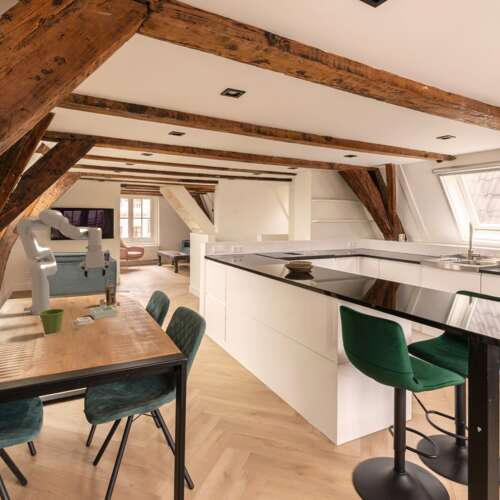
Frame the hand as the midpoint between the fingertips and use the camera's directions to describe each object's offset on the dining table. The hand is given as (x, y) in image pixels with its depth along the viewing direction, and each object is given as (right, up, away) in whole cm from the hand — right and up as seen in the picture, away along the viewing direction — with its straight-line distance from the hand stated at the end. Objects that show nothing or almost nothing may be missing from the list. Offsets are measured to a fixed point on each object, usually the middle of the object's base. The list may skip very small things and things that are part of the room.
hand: (94, 276), depth 218 cm
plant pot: (-8, -27, -32) cm, 43 cm away
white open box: (+6, -24, -2) cm, 25 cm away
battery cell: (+6, -23, -2) cm, 24 cm away
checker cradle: (0, -25, -15) cm, 29 cm away
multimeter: (+2, -22, +30) cm, 37 cm away
